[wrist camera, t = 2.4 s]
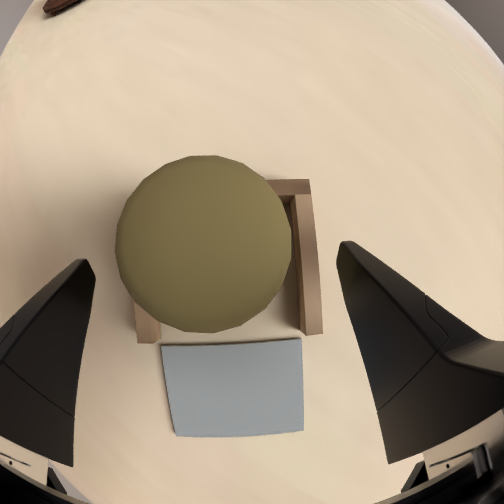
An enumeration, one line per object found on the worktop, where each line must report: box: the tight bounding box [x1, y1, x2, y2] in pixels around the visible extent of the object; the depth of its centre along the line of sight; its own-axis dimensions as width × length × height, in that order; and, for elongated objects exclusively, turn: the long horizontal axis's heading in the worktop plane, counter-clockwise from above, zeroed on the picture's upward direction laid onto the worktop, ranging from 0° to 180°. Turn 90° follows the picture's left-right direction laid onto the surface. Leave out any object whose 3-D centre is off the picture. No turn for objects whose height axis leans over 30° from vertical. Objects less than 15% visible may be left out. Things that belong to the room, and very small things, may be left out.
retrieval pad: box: [161, 338, 304, 437], centre depth 16 cm, size 7×9×1 cm
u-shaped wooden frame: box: [134, 179, 323, 344], centre depth 16 cm, size 9×11×2 cm
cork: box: [115, 156, 291, 333], centre depth 12 cm, size 6×6×11 cm
